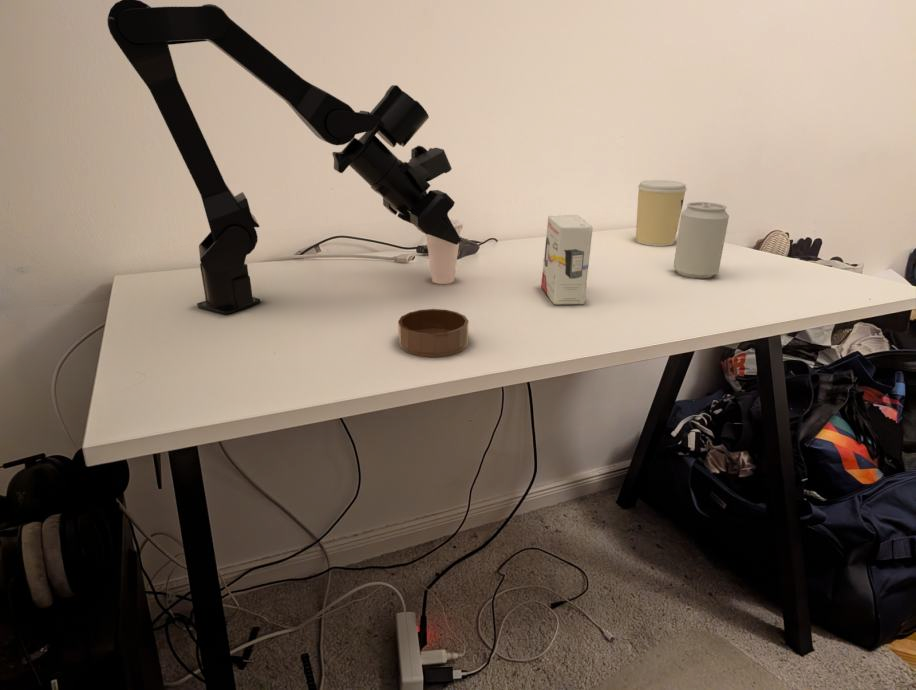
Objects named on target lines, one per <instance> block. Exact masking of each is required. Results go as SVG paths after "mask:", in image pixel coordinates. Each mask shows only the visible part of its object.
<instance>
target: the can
mask: <svg viewBox="0 0 916 690" xmlns="http://www.w3.org/2000/svg"><path fill="white" fill-rule="evenodd" d="M726 209H727V206H726V205H725V204H722V203H716V202H707V201H705V202H704V201H693V202H689V203H687V204H686V208H685V209H683V210H682V211H681V214H680V219H679V225H678V233H677V239H676V246H675V252H674V259H673V265H672V268H673V269H674V270H675V271H676V273H677V274H678V275H679V276H683V277H685V278H689V279H690V278H691V279H711V278H713V276H715V275H716V274H718V273H719V271H720V266H721V261H722V255H723V251H724V245H725V241H726V235H727V228H728V224H729V219H730V215H729V214H728V212H727V211H726Z"/></svg>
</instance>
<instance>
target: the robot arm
mask: <svg viewBox="0 0 916 690" xmlns="http://www.w3.org/2000/svg"><path fill="white" fill-rule="evenodd" d="M106 21H107V27H108V30H109V33H110V35H111V36H112V39H113V40H114V42H115V43H116V45H117V46H118V47H119V48H120V50H121V52H122V53H123V55H124V56H125V57H126V59H127V61H128V62H129V63H130V64H131V67H132V68H133V70H134V71H135V72H136V73H137V74H138V76H139V77H140V78H141V80H142V81H143V82H144V84H145V86H147V88H148V90H149V91H150V93H151V95H152V98H153V100H154V102H155V104H156V106H157V108H158V110H159V112H160V114H161V116H162V118H163V120H164V123H165V124H166V125H165V126H167V129H168V131H169V133H170V135H171V137H172V139H173V141H174V143H175V145H176V148H177V150H178V151H179V153H180V155H181V157H182V159H183V162H184V163H185V166H186V168H187V169H188V172H189V174H190V175H191V178H192V180H193V182H194V184H195V187H196V188H197V190H198V193H199V195H200V197H201V201H202V204H203V209H204V212H205V216H206V219H207V222H208V226H209V230H210V232H209V233H208V234H207V236H205V238H204V239H203V240H202V241H201V242H200V243H199V245H198V253H199V267H200V273H201V280H202V285H203V286H202V287H203V292H204V297H205V300H202V301H200V302H197V303H196V306H197V308H200V309H202V310H203V309H204V310H208V311H210V312H215V313H218V314H222V315H229V314H233V313H236V312H238V311H240V310H243V309H247V308H249V307H252V306H254V305H257V304H260V303H261V301H262V300H261V298H259V297H255V296H253V292H252V291H253V289H252V282H251V276H250V275H249V268H248V264H247V263H245V262H246V258H247V256H248V255H250V254H251V253H252V252H253V251H254V250H255V248H256V246H257V244H258V237H259V236H258V233H257V230H256V228H257V229H259V228H260V224H259V222H258V220H257V219H256V217H255V216H254V214H253V213H252V212H251V208H250V204H249V201H248V198H247V197H246V194H245V193H244V192H242V191H241V192H240V193H238V194H236V195H234V193H233V192H232V190H231V189H230V187H229V186H228V184H227V183H226V182H225V180H224V179H225V178H224V176H223V175H222V173H221V171H220V169H219V166H218V164H217V161H216V160H215V158H214V155H213V154H212V151H211V149H210V147H209V144H208V143H207V142H208V141H207V140H206V138H205V136H204V134H203V132H202V130H201V127H200V125H199V123H198V121H197V119H196V117H195V114H194V112H193V110H192V108H191V106H190V103H189V101H188V98H187V96H186V95H185V93H184V90H183V88H182V86H181V84H180V82H179V79H178V75H177V71H176V68H175V64H174V60H173V57H172V54H171V50H170V46H171V45H173V46H174V45H183V44H192V43H203V42H208V43H210V44H213V46H215V47H216V48H217V49H218V50H219V51H221V52H223V54H225V55H226V56H227V57H228V58H230V59H231V60H233V61H234V62H235V63H236V64H238V65H239V66H240V67H241V68H242V69H244V70H245V71H246V72H247V73H249V75H251V76H252V77H254V78H255V79H256V80H258V81H259V82H260V83H261V84H263V85H264V86H265V87H267V89H269V90H270V91H272V93H274V94H275V95H276V96H278V97H279V98H280V99H282V100H283V101H284V103H286V104H287V105H288V106H289V107H290V109H292V110H293V112H294V113H295V114H296V116H297V117H298V118H299V119H300V121H302V123H303V124H304V125H305V126H306V127H307V128H308V129H309V130H310V131H311V132H312V134H313V135H314V136H315V137H317V138H318V139H319V140H321V141H322V142H325V143H328V144H330V145H333V146H343V145H344V146H345V147H344V148H343V149H342V151H333V152H332V158H333V170H334V171H336V172H337V173H338V174H344V173H345V171H346V170H347V169H348V167H350V168H351V169H352V170H354V172H355V173H357V175H359V176H360V177H361V178H362V179H363V181H365V182H366V183H367V184H368V185H369V186H370V189H372V190H373V191H374V192H375V193H377V194H378V195H379V196H381V197H382V205H383V206H384V208H386V209H387V211H389V212H390V213H391V214H393V215H394V216H397V217H398V218H399V219H401V220H402V221H405V222H407V223H410V224H412V225H413V226H414V227H415V228H416V229H417V230H419V231H420V232H421V233H423V234H425V236H426V235H427V234H429V235H431V236H434V237H437V238H440V239H442V240H445V241H448V242H450V243H453V244H456V245H457V244H458V243H459V244H460V242H461V241H462V239H461V236H460V237H459V235H458V233H457V232H456V230H455V228H454V226H453V225H452V223H451V221H450V219H451V218H450V217H449V213H450V211H451V210H452V208H454V206H455V203H456V202H455V201H454V200H453V198H451V197H450V195H449V194H447V192H444V191H441V190H439V189H431V190H429V191H428V189H430V187H431V184H430V183H429V182H430V181H432V180H434V179H435V178H436V179H437V178H438V177H439V176H441V175H443V174H447V173H449V172H451V171H452V169H453V168H452V166H451V163H450V161H449V159H448V156H447V153H446V151H445V149H444V148H440V147H433V148H432V147H429V148H428V150H427V148H425V147H424V146H423V145H417V146H415V147H413V148H411V149H410V159H408V162H407V161H402V160H401V159H400V158H398V156H396V155H395V153H393V152H392V151H391V150H390V149H389V148H388V147H387V145H385V144H384V142H385V143H386V144H388V145H389V146H390V147H392V148H395V147H396V146H397V145H399V146H401V147H402V148H404V147H406V145H407V144H408V143H409V141H410V140H411V139H412V138H413V137H414V136H415V135H416V134H417V132H418V131H419V130H420V129H421V128H422V127H423V125H424V124H426V122H427V121H428V119H430V117H429V114H428V112H427V110H426V109H425V108H424V107H423V105H422V104H421V103H420V102H419V101H418V100H415V99H414V98H413V97H411V95H410V94H409V93H407V92H405V91H404V90H402V89H401V87H400V86H399V85H398V84H397V85H396V84H395V85H394V84H392V85H390V87H388V89H387V90H386V92H385V93H384V96H383V97H382V98H380V100H379V102H378V103H377V104H376V105H375V106H374V107H373V108H372V110H371V111H366V110H359V111H355V110H354V109H353V108H352V106H350V105H349V104H347V103H346V102H344V101H342V100H341V99H339V98H337V97H336V96H334V95H332V94H331V93H329V92H327V91H325V90H324V89H321V88H320V87H318V86H316V85H314V84H312V83H310V82H309V81H307V80H305V79H304V78H303V77H301V76H300V75H299V74H297V72H296V71H294V70H293V69H292V68H291V67H289V66H288V65H287V64H285V63H284V62H283V61H282V60H281V59H279V57H277V56H276V55H275V54H274V53H273V52H271V51H270V50H269V49H268V48H266V47H265V46H264V45H262V44H261V43H260V42H259V41H258V40H256V39H255V37H253V36H252V35H251V34H249V32H247V31H246V30H245V29H243V28H242V27H241V26H240V25H239V24H237V23H236V22H235V21H234V20H233V19H231V18H230V17H229V16H228V14H227V13H226V11H224V10H223V9H222V8H221V7H220V6H218V5H216V4H212V3H207V4H202V5H198V6H155V7H152V6H151V5H149V4H147V3H145V2H144V1H142V0H119V1H117V2H115V3H114V4H113V5H112V7H111V8H110V10H109V12H108V14H107V19H106ZM360 134H362V135H361V137H359V138H356V135H360ZM376 135H378V136H379V137H380V138H381V139H382V140H383V141H384V142H383V141H381V140H380V139H379V137H377V136H376ZM427 191H428V192H427Z"/></svg>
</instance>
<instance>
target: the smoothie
mask: <svg viewBox="0 0 916 690" xmlns="http://www.w3.org/2000/svg"><path fill="white" fill-rule="evenodd" d="M449 219H450V221H451V223H452V225H453V226H454V228H455V230H456V232H457V233H458V235H459V237H460V238H461V233H462V231H463V229H464V228H463V222H462V221H461V220H458V219H453V218H449ZM425 239H426V246H427V252H428V253H427V254H428V260H429V270H430V276H431V282H432V283H434V284H438V285H447V284H452V283H454V282H455V276H456V269H457V262H458V254H459V247H460V242H459V243H458V244H457V245H456V244H453V243H450V242H448V241H445V240H442V239H440V238H437V237H434V236H431V235H429V234H427V235H426V234H425Z"/></svg>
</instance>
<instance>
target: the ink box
mask: <svg viewBox="0 0 916 690" xmlns="http://www.w3.org/2000/svg"><path fill="white" fill-rule="evenodd" d="M592 237H593V225H592V224H590V223H589V222H588V221H586V219H584V218H582V216H580V214H579V215H578V214H561V215H560V214H559V215H555V214H554V215H547V224H546V236H545V245H544V246H545V247H544V254H543V255H544V257H543V264H542V272H541V273H542V275H541V283H540V284H541V285H540V288H542V290H543V291H544V293H545V295H547V297H548V298H549V299H550V301H551V302H552V303H553V305H585V301H586V293H587V292H586V291H587V284H588V283H587V281H588V273H589V265H590V257H591V248H592V247H591V246H592V239H593V238H592Z"/></svg>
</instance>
